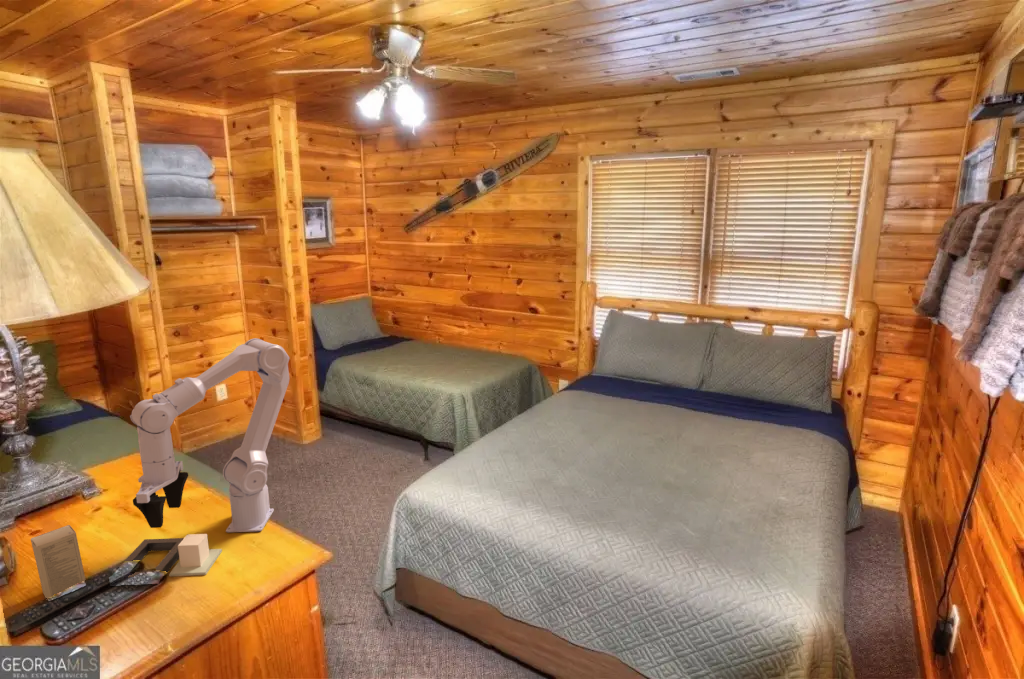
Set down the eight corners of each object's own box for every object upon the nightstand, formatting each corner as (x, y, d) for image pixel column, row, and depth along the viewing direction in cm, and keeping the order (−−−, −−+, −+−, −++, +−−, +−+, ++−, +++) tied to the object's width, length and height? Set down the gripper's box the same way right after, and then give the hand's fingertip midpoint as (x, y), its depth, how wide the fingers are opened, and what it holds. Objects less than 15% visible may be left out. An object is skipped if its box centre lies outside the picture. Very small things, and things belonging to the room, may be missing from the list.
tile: (188, 552, 120) (187, 550, 120) (221, 551, 121) (221, 548, 121) (169, 576, 113) (169, 573, 112) (205, 574, 113) (205, 572, 113)
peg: (189, 555, 118) (187, 534, 117) (209, 554, 119) (206, 533, 118) (180, 567, 114) (177, 545, 113) (200, 566, 115) (198, 545, 114)
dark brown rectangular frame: (145, 547, 122) (144, 539, 121) (188, 545, 123) (187, 537, 122) (109, 586, 109) (108, 577, 109) (158, 584, 110) (156, 575, 110)
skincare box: (80, 577, 112) (70, 523, 109) (87, 587, 109) (77, 532, 106) (41, 593, 107) (29, 537, 104) (47, 604, 104) (35, 546, 101)
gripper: (155, 442, 120) (163, 499, 123) (115, 474, 106) (125, 537, 109) (189, 442, 121) (196, 498, 124) (154, 473, 107) (163, 535, 110)
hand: (165, 516), depth 117 cm, fingers open, 7 cm apart
